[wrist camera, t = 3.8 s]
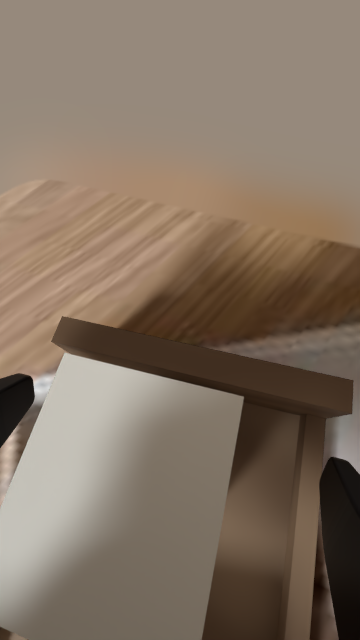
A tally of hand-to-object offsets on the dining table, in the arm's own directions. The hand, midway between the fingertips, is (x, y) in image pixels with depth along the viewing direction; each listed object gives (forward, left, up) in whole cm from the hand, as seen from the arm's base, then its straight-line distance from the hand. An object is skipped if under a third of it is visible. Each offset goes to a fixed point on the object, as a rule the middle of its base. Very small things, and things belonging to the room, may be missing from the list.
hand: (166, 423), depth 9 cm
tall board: (-1, -1, -6) cm, 6 cm away
